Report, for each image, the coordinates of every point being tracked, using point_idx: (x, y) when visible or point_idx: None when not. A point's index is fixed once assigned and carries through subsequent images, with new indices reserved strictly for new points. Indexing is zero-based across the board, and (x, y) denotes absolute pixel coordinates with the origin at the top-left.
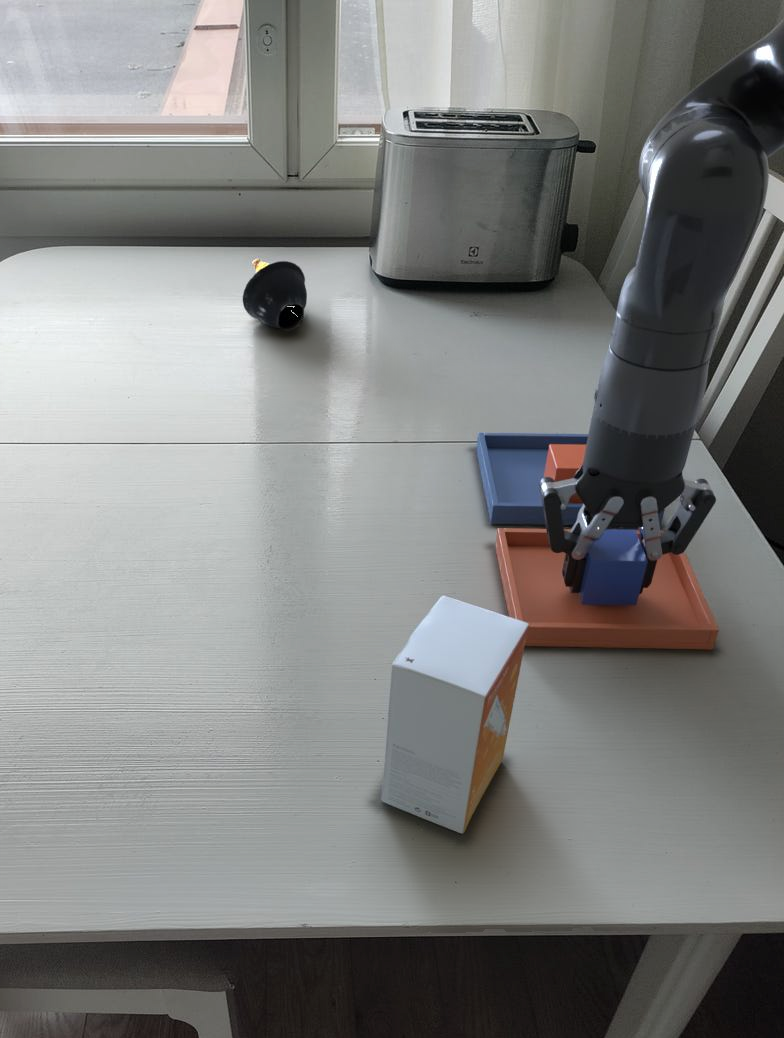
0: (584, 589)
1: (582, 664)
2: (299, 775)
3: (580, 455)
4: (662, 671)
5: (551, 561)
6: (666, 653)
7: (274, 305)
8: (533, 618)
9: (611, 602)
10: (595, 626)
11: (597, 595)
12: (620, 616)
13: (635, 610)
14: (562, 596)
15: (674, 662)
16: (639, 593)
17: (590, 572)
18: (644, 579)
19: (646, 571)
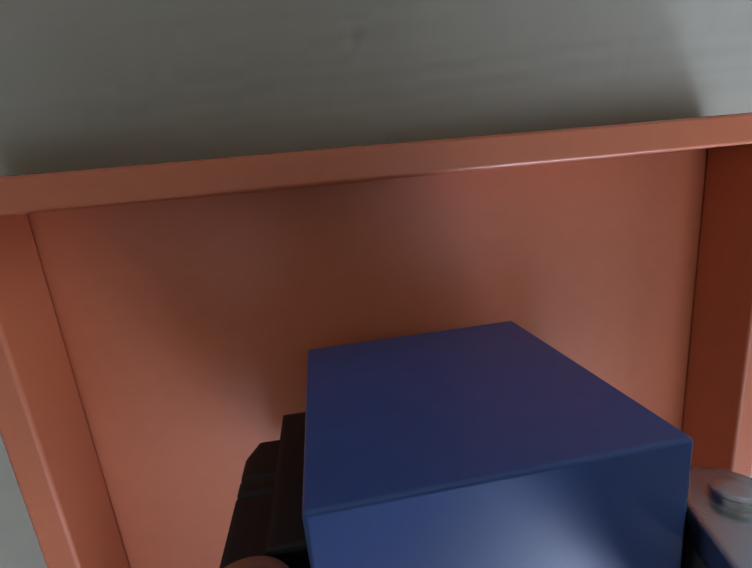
0: (552, 347)
1: (509, 45)
2: None
3: None
4: (220, 27)
5: None
6: (198, 144)
7: None
8: (652, 249)
9: (409, 339)
10: (509, 145)
11: (480, 343)
12: (360, 307)
13: (303, 350)
14: None
15: (169, 90)
16: (292, 414)
17: (611, 392)
18: (283, 457)
19: (279, 492)
